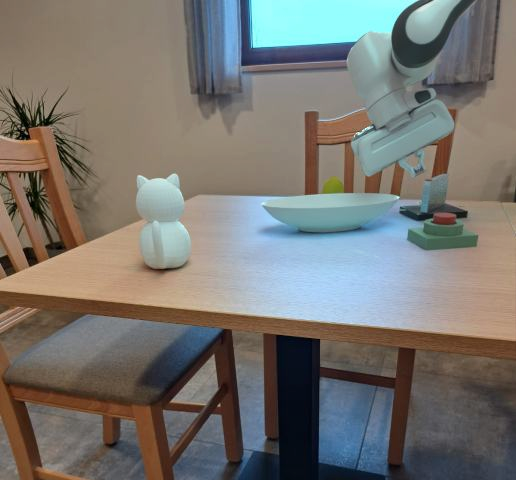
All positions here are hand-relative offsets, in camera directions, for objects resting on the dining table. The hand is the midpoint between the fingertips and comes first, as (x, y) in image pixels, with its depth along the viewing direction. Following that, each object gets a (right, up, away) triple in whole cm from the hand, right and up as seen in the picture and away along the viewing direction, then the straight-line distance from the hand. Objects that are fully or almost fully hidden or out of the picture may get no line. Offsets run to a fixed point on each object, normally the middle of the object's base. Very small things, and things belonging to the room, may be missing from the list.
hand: (419, 174), depth 99 cm
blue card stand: (+7, -4, +10) cm, 13 cm away
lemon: (-15, -1, +22) cm, 27 cm away
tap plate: (+7, -6, +11) cm, 14 cm away
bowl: (-19, -11, +3) cm, 22 cm away
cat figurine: (-51, -23, -17) cm, 58 cm away
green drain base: (0, -17, -10) cm, 20 cm away
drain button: (0, -14, -12) cm, 18 cm away
